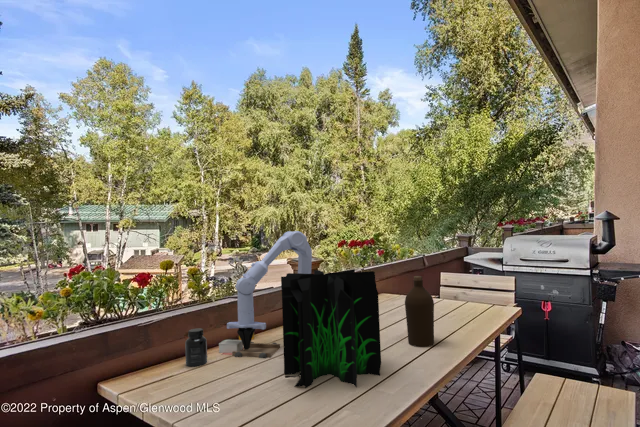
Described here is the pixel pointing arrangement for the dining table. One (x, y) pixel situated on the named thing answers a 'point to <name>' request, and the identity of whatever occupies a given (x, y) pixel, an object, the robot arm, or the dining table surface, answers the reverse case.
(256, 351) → the wagon bed
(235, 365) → the dining table surface
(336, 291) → the decorative plant
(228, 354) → the tailgate
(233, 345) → the block
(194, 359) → the supplement bottle
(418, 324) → the olive oil
